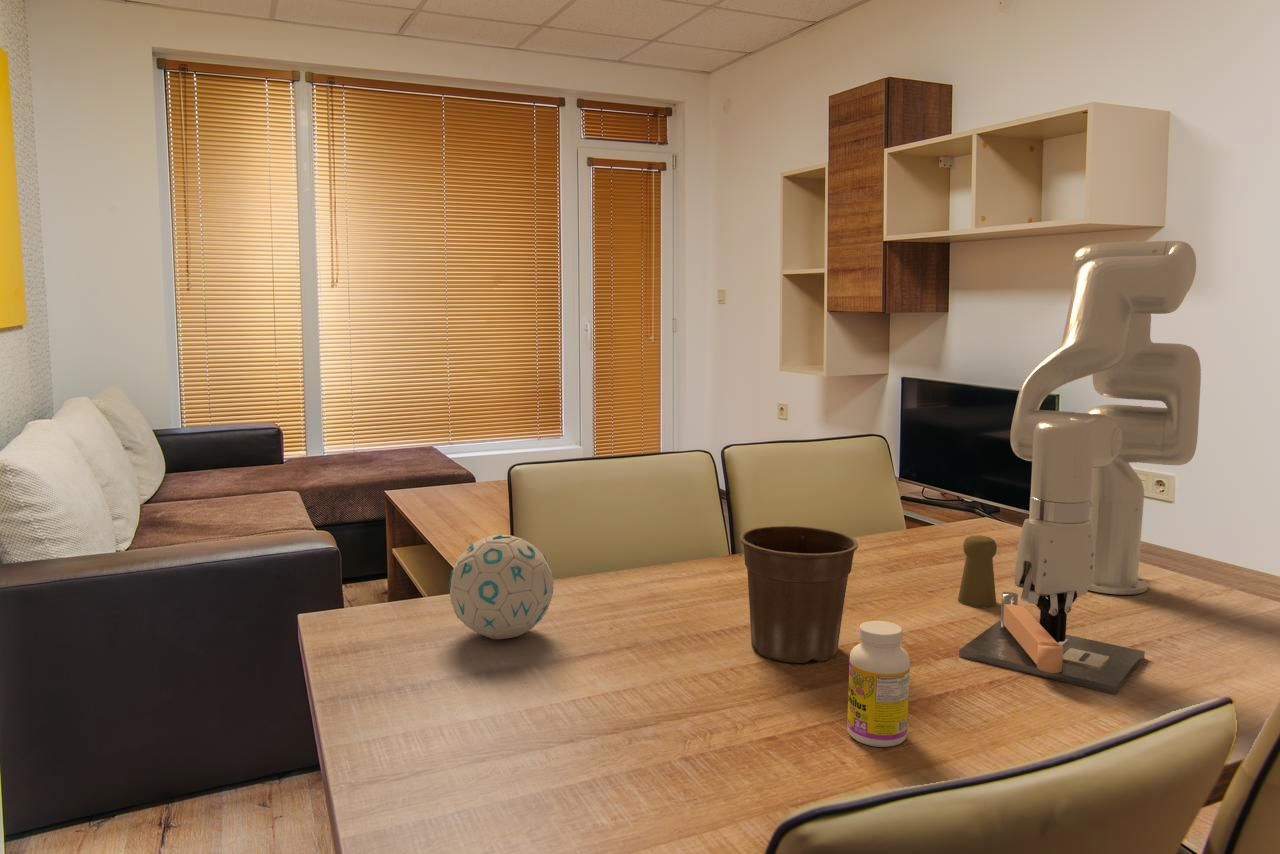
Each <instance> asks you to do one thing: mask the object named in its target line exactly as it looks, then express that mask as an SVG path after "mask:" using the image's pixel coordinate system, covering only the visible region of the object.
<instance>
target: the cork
mask: <svg viewBox="0 0 1280 854" xmlns="http://www.w3.org/2000/svg"><path fill="white" fill-rule="evenodd" d="M962 549H963V553H964V555H965V560H964V566H963V572H962V575H961V576H962V577H961V580H960V581H961V582H960V585H959V586H960V588H959V593H958V596H957V602H959V604H962V605H964V606H967V607H972V608H981V609H982V608H984V609H986V608H993V607H995V606H997V595H996V584H995V582H996V581H995V573H994V571H995V570H994V560H993V558H994V557H995V555H996V554H997V550H998V549H997V542H996V540H995V539H993V538H992V537H991V536H990V537H989V536H986V535H978V534H977V535H969V536H967V537H966V538H964V541H963V545H962Z"/></svg>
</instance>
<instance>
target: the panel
mask: <svg viewBox="0 0 1280 854" xmlns="http://www.w3.org/2000/svg"><path fill="white" fill-rule="evenodd" d="M1018 599H1019V595H1018V593H1015V592H1012V591H1004V592H1002V593H1001V603H1000V604H1001V606H1000V619H999V620H998V621H996V622H995V623H993V624H991V626H989V628H987V629H986V630H984V631H982V633H981V632H980V634H979V635H977V636H976V637H975V638H973V639H972V640H970V641H969V642H968V643H966V644H965V645H964V646H962V647H961V648H960V649H959V653H958V654H959V658H964V659H968V660H971V661H975V662H981V663H984V664H988V665H992V666H997V667H1001V668H1005V669H1010V670H1013V671H1016V670H1017V671H1018V672H1021V673H1026V674H1029V675H1034V676H1037V675H1038V676H1037V677H1041V676H1042V678H1045V679H1049V678H1050V680H1055V681H1059V682H1062V681H1063V682H1062V683H1066V682H1067V684H1070V683H1071V685H1074V684H1075V686H1078V685H1079V687H1083V688H1087V689H1091V690H1095V691H1100V692H1103V693H1106V694H1107V693H1108V694H1110V695H1111V694H1112V695H1116V694H1117V693H1118V692H1119V691H1120V689H1121V688H1122V686H1123V685H1124V684H1125V683H1126V681H1127V680H1129V678H1130V677H1131V676H1132V674H1133V673H1134V672H1135V671H1136V670H1137V668H1138V667H1139V665H1140V664H1141V663H1142V662H1143V661H1144V659H1145V657H1146V656H1145V653H1146V651H1144V650H1140V649H1136V648H1131V647H1126V646H1122V645H1118V644H1117V645H1116V644H1113V643H1107V642H1102V641H1098V640H1093V639H1088V638H1084V637H1079V636H1076V635H1075V636H1073V635H1069V634H1066V637H1065V641H1063V642H1058V644H1060V645H1062V646H1063V662H1062V671H1061V672H1058V673H1050V672H1045V671H1042V670H1040V669H1038V668H1037V664H1036V663H1035V662H1034V661H1033V660H1032V658H1031V657H1030V656H1029V655H1028V654H1027V652H1026V651H1025V650H1024V649H1023V647H1022V646H1021V645H1020V644H1019V643H1018V641H1017V640H1016V639H1015V638H1014V637H1013V635H1012V634H1011V633H1010V632H1009V630H1008V629H1007V628H1006V627H1005V626H1004V624H1003V618H1004V604H1011V605H1018Z"/></svg>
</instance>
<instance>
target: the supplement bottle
mask: <svg viewBox="0 0 1280 854" xmlns="http://www.w3.org/2000/svg"><path fill="white" fill-rule="evenodd" d="M858 633H859V634H858V637H859V640H860V643H858V644H856V645H855V646H854V647H853V648H852V649H851V650H850V654H849V667H848V668H849V669H848V670H849V671H848V675H849V676H848V689H847V690H848V693H847V694H848V697H847V718H846V721H847V723H846V725H847V726H846V729H847V732H848V734H849V736H850V737H852V739H854V740H855V741H857V742H858V743H861V744H862V745H863V744H864V745H867V746H871V747H877V748H887V747H894V746H897V745H900V744H902V743H903V742H905V740H906V738H907V735H908V721H909V697H910V695H909V694H910V678H911V677H910V676H911V675H910V674H911V658H910V655H909V653H908V652H907V651H906V649H904V648H903V647H901V644H902V641H903V628H902V627H901V626H900V625H898V624H896V623H893V622H891V621H883V620H870V621H864V622H862V623H860V625H859V632H858Z"/></svg>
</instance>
